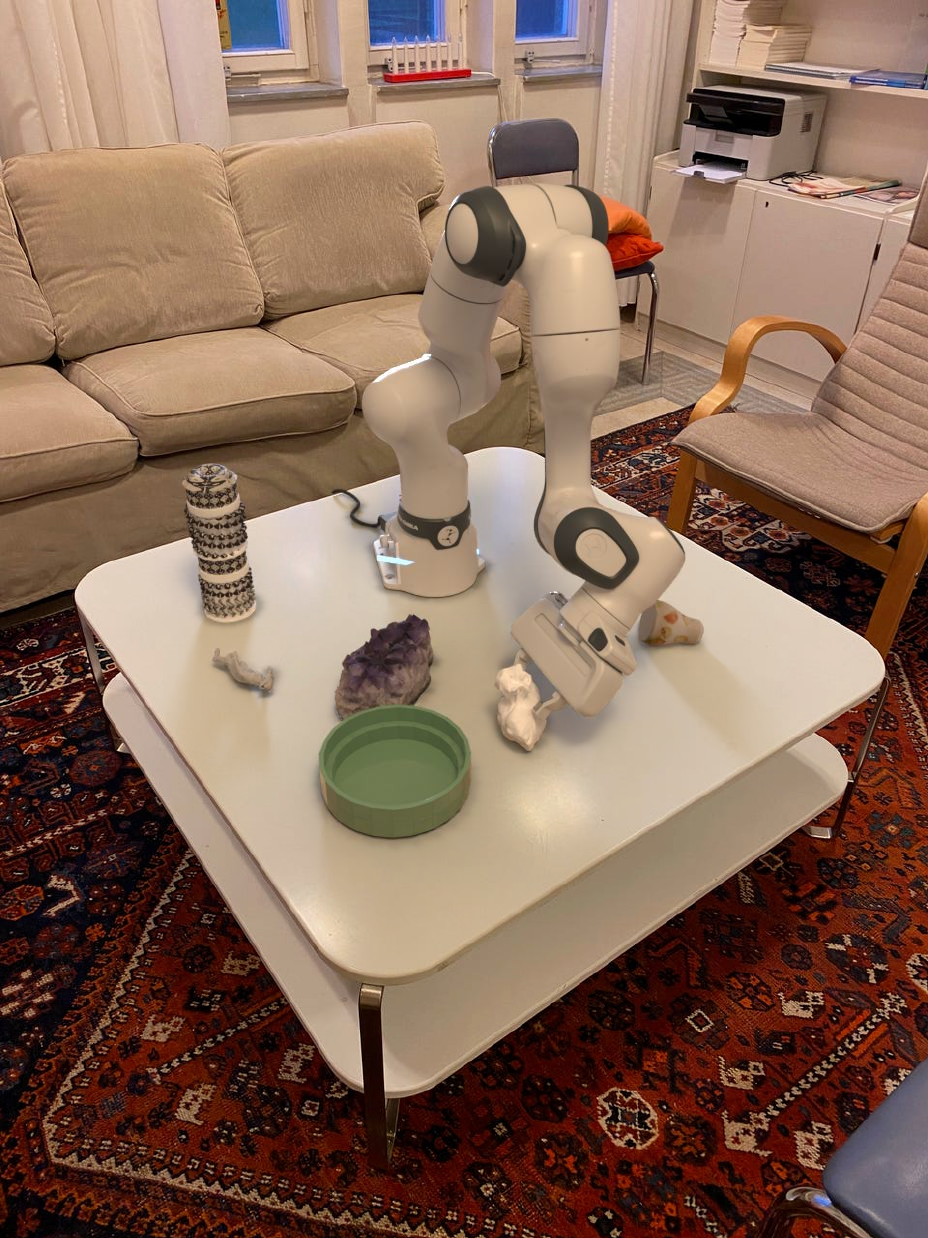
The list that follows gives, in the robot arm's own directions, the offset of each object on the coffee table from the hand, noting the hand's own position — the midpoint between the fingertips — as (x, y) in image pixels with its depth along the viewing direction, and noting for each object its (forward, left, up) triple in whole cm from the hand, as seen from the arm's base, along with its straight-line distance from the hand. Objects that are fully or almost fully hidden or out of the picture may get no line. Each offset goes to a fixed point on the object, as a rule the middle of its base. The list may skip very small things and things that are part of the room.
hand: (524, 698), depth 130 cm
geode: (-15, -14, -5) cm, 21 cm away
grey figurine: (-25, -33, -5) cm, 42 cm away
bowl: (+4, -20, -5) cm, 21 cm away
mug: (-9, +31, -5) cm, 33 cm away
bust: (0, -1, -5) cm, 5 cm away
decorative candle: (-45, -31, -5) cm, 55 cm away
